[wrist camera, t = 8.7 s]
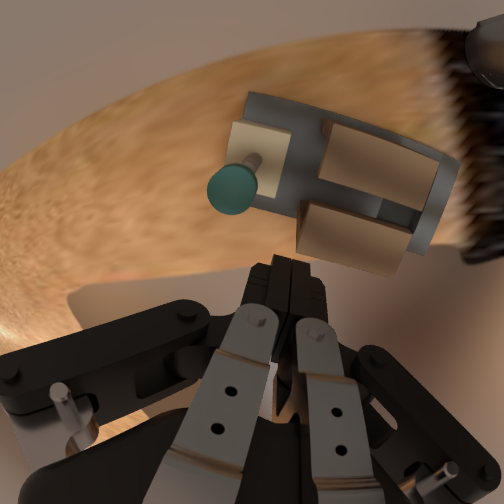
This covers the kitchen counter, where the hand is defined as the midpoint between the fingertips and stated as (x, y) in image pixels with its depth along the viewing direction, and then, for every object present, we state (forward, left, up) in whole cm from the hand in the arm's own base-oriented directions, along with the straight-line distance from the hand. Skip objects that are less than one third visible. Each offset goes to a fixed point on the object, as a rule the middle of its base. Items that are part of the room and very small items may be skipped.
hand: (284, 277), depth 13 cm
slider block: (0, -4, -26) cm, 26 cm away
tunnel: (0, +7, -29) cm, 30 cm away
